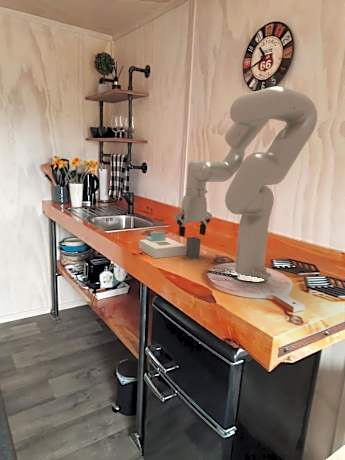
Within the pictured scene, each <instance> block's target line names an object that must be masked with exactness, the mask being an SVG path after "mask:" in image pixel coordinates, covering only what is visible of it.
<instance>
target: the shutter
mask: <svg viewBox="0 0 345 460" xmlns="http://www.w3.org/2000/svg"><path fill="white" fill-rule="evenodd" d="M150 235H151V236H149V235H148V236H144V239H145V240H146V239H148V240H150V241H160V240H166V239H165V238H166V237H165V235H166V232H165V231H156V232H151V234H150Z"/></svg>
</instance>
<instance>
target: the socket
mask: <svg viewBox="0 0 345 460" xmlns="http://www.w3.org/2000/svg"><path fill="white" fill-rule="evenodd" d="M165 239H166V240H160V241H150V240H148V239H146V238H145V239H139V241H138V243H139V248H138V249H139V250H140V251H142V252H143V253H146V254H147V255H149V257H150V256H151V257H152V258H153V259H163V258H171V257H181V256H186V245H185V244H183V243H180V242H178V241H176V240H173V239H171V238H169V237H165Z"/></svg>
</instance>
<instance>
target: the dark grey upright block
mask: <svg viewBox="0 0 345 460" xmlns="http://www.w3.org/2000/svg"><path fill="white" fill-rule="evenodd" d="M185 246H186V253H185V258H188V259H189V260H196V259H200V257H201V256H200V253H201V238H199V237H196V236H193V237H191V236H190V237H186V245H185Z"/></svg>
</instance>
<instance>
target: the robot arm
mask: <svg viewBox="0 0 345 460" xmlns="http://www.w3.org/2000/svg"><path fill="white" fill-rule="evenodd" d="M229 116H230V117H229V118H230V119H231V120H232V122H233V124H232V125H231V127H230V128H229V129H228V130H227V131H226V133H225V135H224V140H225V142H226V144H227V145H228V146H229V147H230V150H229V152H228V154H227V155H226V156H225V158H224V159H223V160H222V161H216V160H215V161H214V160H190V161H189V162H188V164H187V171H186V173H187V175H186V188H185V189H186V190H185V195H184V196H183V198H182V200H181V206H180V211H179V212H177V213H175V214H174V215H173V217H174V220H175V223H176V224H177V225H178V226H179V227H178V234H179V236H180V237H183V238H184V237H185V235H186V234H185V233H186V226H185V225H186V224H187V223H194V222H195V223H197V222H198V223H199V222H200V225H199V234H200V235H202V236H205V235H206V229H207V226H208V224H209V222H210V221H211V220H212V217H213V214H212V213H211V212H209V211H207V210H208V209H207V207H208V206H207V197H206V194H208V190H207V189H206V188H207V183H214V182H215V183H216V182H217V183H219V182H220V183H221V182H226V181H229V180H230V179H231V178H232V177H233V179H232V181H231V182H230V184H229V187H228V189H227V191H226V193H225V199H224V201H225V206H226V208H227V210H228V211H229V213H232V214H234V215H240V216H241V217H240V219H239V224H238V233H237V245H236V258H235V268H234V269H235V271H236V272H237V273H239V274H241V275H245V276H251V277H257V278H262V279H264V280H266V281H268V280H269V278H271V277H272V273H271V272H268V271H267V268H268V267H267V266H265V263H266V262H265V261H266V253H267V252H266V251H267V243H268V232H269V224H270V220H271V219H270V217H271V216H272V215H271V213H272V211H273V206H274V201H275V198H274V193H273V191H272V189H271V188H270V187H269V186H274V185H278V184H280V183H281V182H283V181H284V179H285V178H286V176H287V175H288V173H289V171H290V170H291V168H292V167H293V164H295V162H296V161H297V158H298V157H299V155H300V153H301V152H302V150H303V148H304V146H305V145H306V143H307V142H308V141H309V140H310V137H311V136H312V135H313V133H314V130H315V129H316V126H317V122H318V110H317V107H316V105H315V103H314V102H313V100H312V99H311V98H310V97H309V96H307V95H306V94H303V93H302V92H299V91H296V90H293V89H290V88H287V87H284V86H280V85H279V86H278V85H276V86H275V85H274V86H270V87H267V88H263V89H259V90H256V91H251V92H248V93H245V94H242V95H240V96H238V97H237V98H235V100H234V101H233V102H232V104H231V106H230V109H229ZM270 120H275V121H280V122H285V123H286V124H285V126H283V128H282V129H281V130H280V131H279V132H278V133H277V135H275V136H274V139H273V140H272V143H271V145H270V146H269V147H268V149H267V150H266V152H253V153H251V154H249V155H247V156H246V158H245V151H246V149H247V148H248V147H249V145H251V143H252V141H254V139H256V137H257V136H258V135H259V134H260V132H261V131H262V130H263V129H264V127H266V125H267V124H268V122H270Z"/></svg>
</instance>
